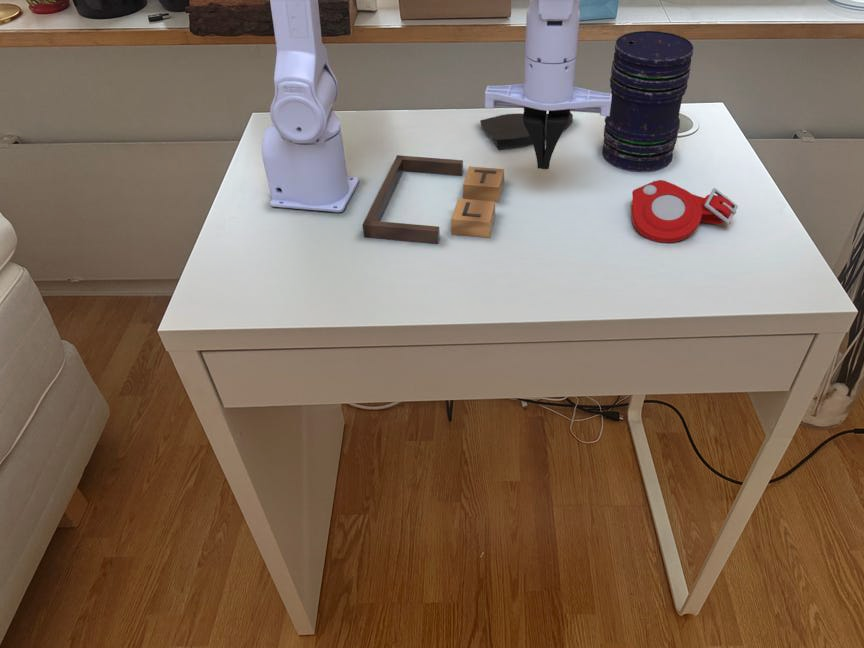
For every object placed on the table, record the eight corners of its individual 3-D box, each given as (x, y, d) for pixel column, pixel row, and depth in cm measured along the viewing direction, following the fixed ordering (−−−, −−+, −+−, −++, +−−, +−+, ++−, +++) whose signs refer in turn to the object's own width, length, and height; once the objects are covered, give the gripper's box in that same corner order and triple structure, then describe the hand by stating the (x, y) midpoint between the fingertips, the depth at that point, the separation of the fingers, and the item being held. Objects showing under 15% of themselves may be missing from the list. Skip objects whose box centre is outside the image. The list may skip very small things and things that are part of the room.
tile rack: (363, 237, 88) (362, 224, 86) (397, 167, 100) (396, 154, 98) (438, 244, 86) (437, 231, 85) (463, 172, 99) (463, 160, 97)
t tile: (463, 199, 94) (462, 183, 92) (469, 181, 97) (469, 165, 95) (499, 202, 93) (499, 186, 92) (503, 184, 96) (504, 168, 95)
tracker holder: (657, 245, 84) (613, 187, 89) (653, 268, 88) (612, 211, 93) (748, 203, 85) (701, 148, 90) (741, 227, 89) (695, 173, 94)
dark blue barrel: (675, 142, 105) (696, 34, 94) (671, 176, 98) (693, 63, 87) (605, 134, 106) (618, 27, 96) (596, 167, 100) (609, 56, 89)
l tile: (451, 234, 88) (451, 218, 86) (458, 213, 91) (458, 197, 90) (489, 237, 87) (489, 221, 86) (495, 217, 91) (495, 200, 89)
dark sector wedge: (585, 137, 106) (586, 127, 105) (495, 151, 103) (495, 140, 102) (563, 113, 112) (564, 102, 110) (478, 125, 109) (478, 115, 107)
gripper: (617, 44, 84) (603, 153, 93) (491, 37, 86) (490, 145, 95) (615, 68, 79) (601, 182, 88) (481, 61, 80) (482, 172, 90)
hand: (543, 165), depth 91 cm, fingers closed
